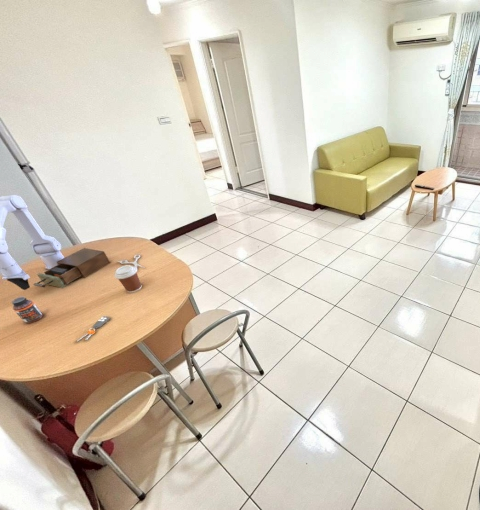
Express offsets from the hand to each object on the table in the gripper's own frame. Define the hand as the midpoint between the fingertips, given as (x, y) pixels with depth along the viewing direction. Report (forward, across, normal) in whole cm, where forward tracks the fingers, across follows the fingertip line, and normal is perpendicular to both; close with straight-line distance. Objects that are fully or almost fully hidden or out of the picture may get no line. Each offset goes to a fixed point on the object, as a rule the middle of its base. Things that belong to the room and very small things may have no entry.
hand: (26, 288), depth 130 cm
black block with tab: (+3, +2, +14) cm, 14 cm away
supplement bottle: (+6, +17, -10) cm, 21 cm away
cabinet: (+6, +2, +25) cm, 26 cm away
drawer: (+5, +2, +13) cm, 13 cm away
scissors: (+6, +24, +35) cm, 43 cm away
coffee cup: (+6, +42, +18) cm, 46 cm away
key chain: (+6, +49, -8) cm, 50 cm away
